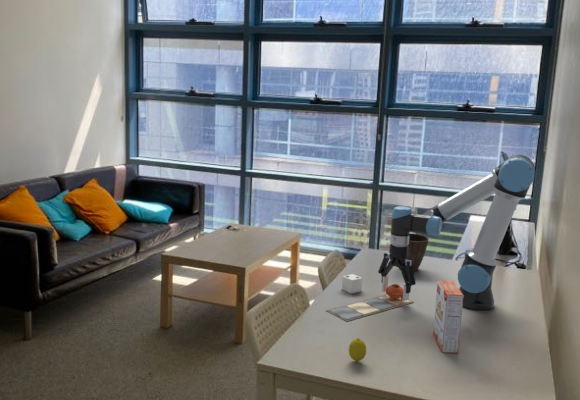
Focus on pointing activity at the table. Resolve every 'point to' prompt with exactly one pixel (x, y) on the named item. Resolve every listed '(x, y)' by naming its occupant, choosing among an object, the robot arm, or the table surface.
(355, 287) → the die
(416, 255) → the plant pot
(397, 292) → the pot
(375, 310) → the board
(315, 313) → the table surface
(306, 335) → the table surface
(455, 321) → the cracker box
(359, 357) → the lemon
